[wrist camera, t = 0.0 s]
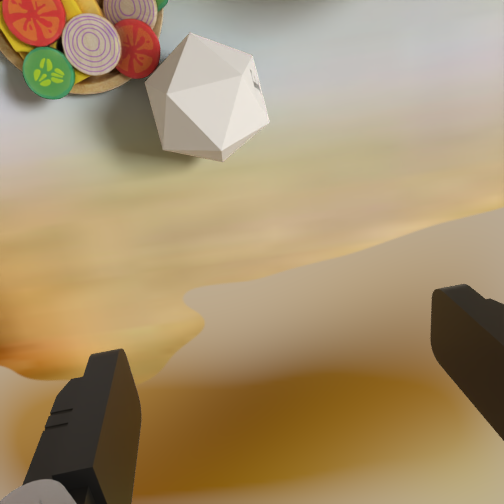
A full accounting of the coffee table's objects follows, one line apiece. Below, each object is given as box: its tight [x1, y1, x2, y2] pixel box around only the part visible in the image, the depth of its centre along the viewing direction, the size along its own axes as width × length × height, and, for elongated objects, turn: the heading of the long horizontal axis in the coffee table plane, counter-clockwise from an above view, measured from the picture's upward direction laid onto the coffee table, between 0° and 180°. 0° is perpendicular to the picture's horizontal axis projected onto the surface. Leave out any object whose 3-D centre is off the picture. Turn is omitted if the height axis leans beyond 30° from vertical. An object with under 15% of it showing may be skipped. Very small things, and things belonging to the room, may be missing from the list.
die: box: [145, 33, 270, 162], centre depth 33 cm, size 8×9×10 cm
